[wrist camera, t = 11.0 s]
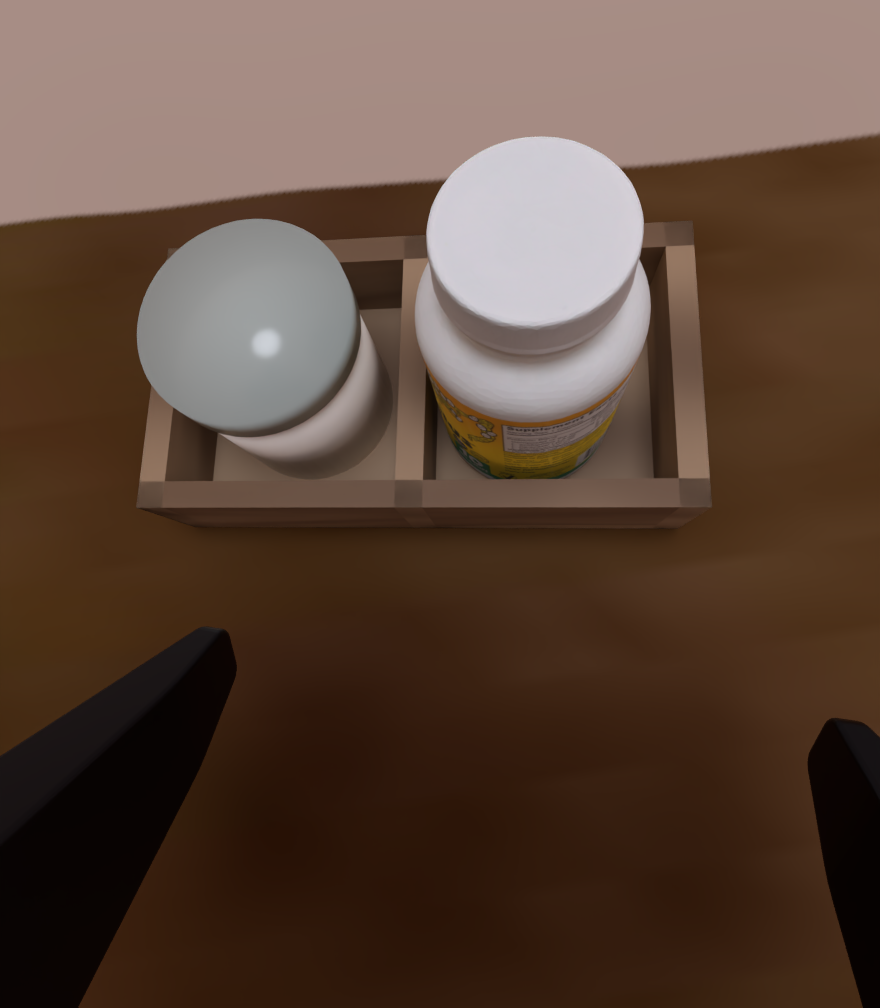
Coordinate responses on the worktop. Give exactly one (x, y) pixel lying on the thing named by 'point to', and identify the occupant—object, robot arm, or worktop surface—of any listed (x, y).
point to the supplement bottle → (532, 304)
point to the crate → (426, 443)
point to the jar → (267, 348)
